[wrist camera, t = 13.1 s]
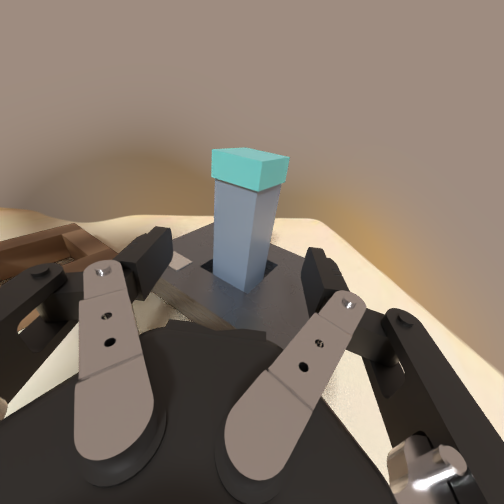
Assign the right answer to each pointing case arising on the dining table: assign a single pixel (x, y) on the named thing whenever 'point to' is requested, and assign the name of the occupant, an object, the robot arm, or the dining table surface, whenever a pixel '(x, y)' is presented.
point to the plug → (244, 212)
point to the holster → (51, 253)
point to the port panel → (234, 290)
